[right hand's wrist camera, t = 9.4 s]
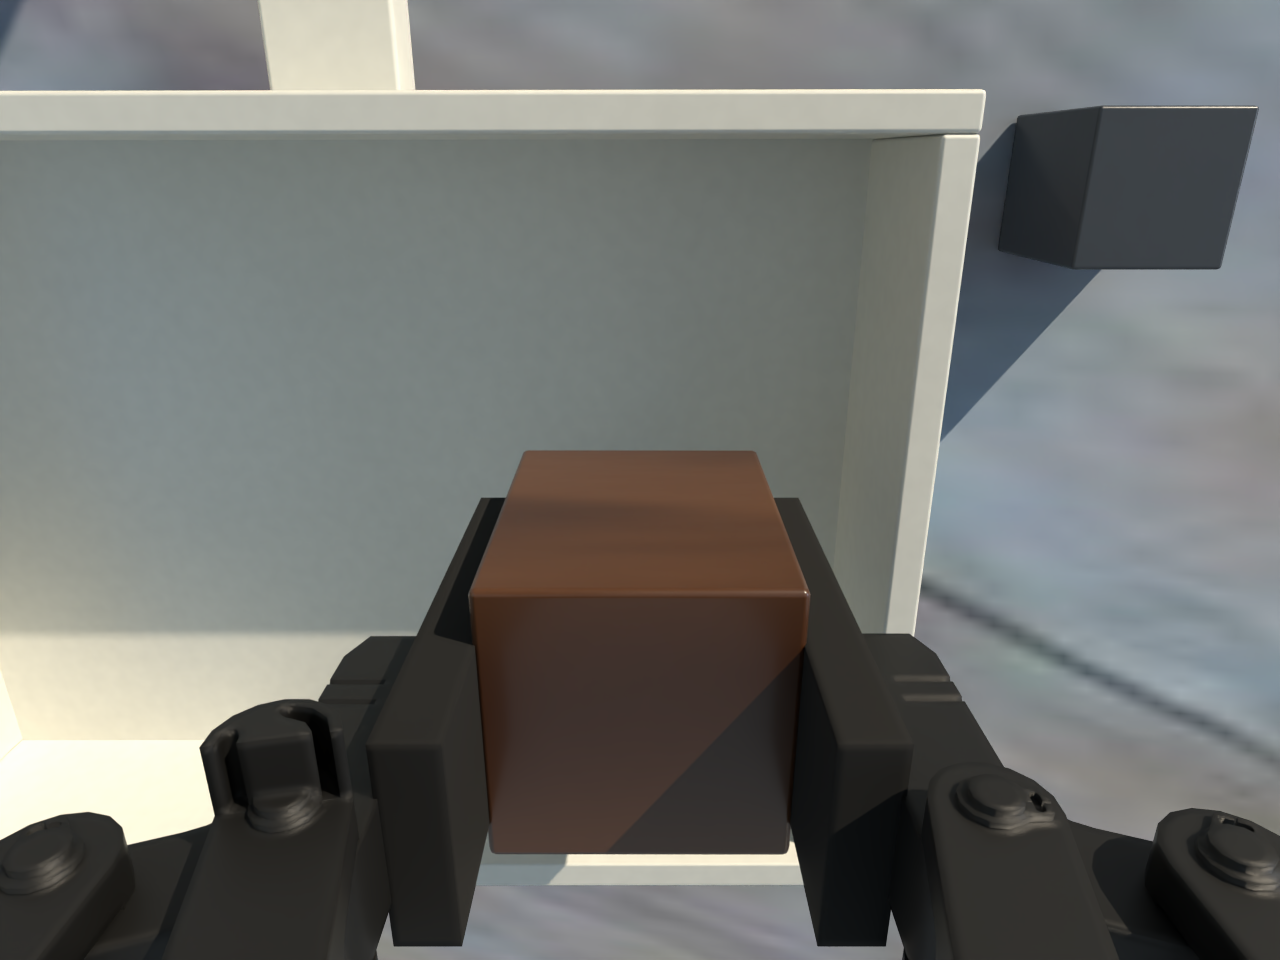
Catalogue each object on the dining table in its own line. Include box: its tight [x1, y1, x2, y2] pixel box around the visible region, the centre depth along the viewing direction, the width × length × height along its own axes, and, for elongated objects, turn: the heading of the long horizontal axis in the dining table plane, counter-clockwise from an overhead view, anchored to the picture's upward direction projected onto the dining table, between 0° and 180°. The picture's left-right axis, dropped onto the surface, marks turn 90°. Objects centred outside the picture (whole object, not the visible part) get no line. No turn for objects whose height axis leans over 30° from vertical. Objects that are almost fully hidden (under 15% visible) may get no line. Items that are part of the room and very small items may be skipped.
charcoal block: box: [998, 106, 1259, 269], centre depth 24 cm, size 4×4×5 cm
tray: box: [0, 0, 986, 886], centre depth 13 cm, size 27×21×8 cm
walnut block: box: [468, 450, 811, 855], centre depth 13 cm, size 4×4×5 cm
